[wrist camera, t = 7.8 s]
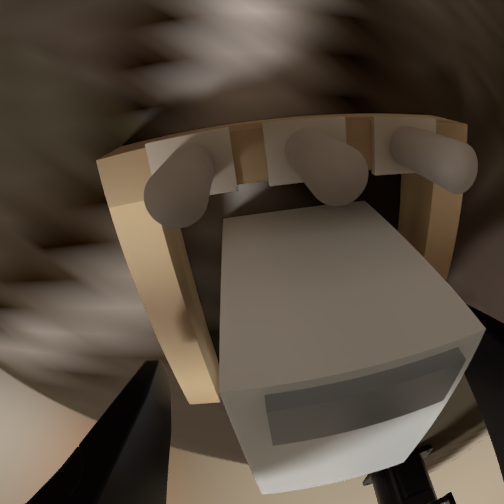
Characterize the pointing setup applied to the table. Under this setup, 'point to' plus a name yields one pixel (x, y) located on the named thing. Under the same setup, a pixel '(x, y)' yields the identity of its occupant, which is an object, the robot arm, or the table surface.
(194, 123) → the table surface
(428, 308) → the block
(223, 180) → the light brown u-shaped piece
